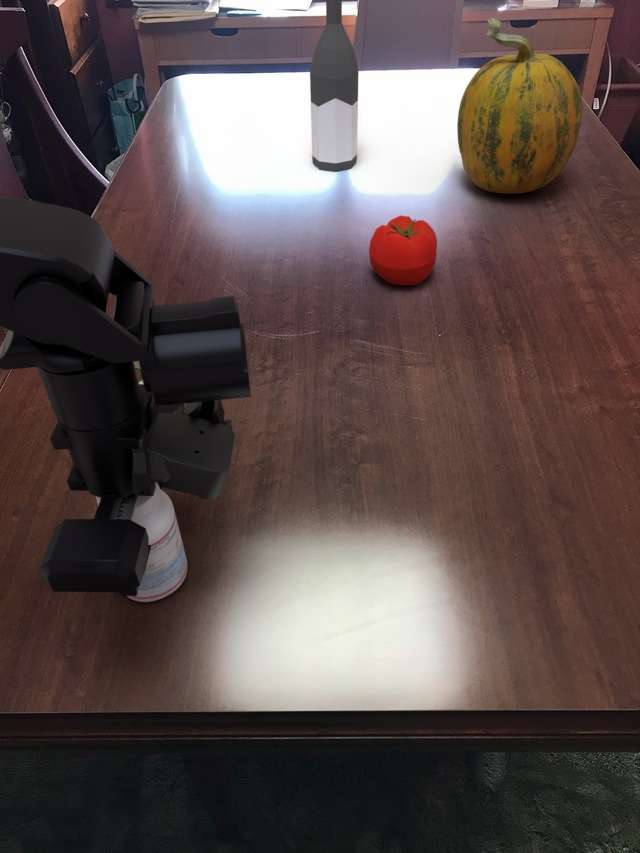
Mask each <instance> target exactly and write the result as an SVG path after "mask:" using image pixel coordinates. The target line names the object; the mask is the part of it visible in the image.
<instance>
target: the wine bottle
mask: <svg viewBox="0 0 640 853" xmlns="http://www.w3.org/2000/svg"><path fill="white" fill-rule="evenodd" d="M342 13H343V0H325V17H326V18H325V25H324V28H323V30H322V32H321V34H320V37H319V38H318V41H317V43H316V46H315V48H314V52H313V55H312V58H311V65H310V71H309V84H310V85H309V86H310V88H309V89H310V90H309V92H310V120H311V121H310V122H311V123H310V125H311V128H310V129H311V159H312V164H313V165H314V167H316V168H317V169H318V170H320V171H326V172H334V173H338V172H342V171H347V170H351V169H353V167H354V166H355V164H356V163H357V159H358V128H359V127H358V125H359V123H358V119H359V116H358V115H359V73H360V72H359V71H360V70H359V66H358V61H357V57H356V56H357V55H356V53H355V51H354V50H355V49H354V47H353V44H352V42H351V40H350V38H349V36H348V33H347V31H346V29H345V27H344V25H343V14H342Z"/></svg>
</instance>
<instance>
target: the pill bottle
mask: <svg viewBox="0 0 640 853" xmlns="http://www.w3.org/2000/svg"><path fill="white" fill-rule="evenodd" d="M155 485H156V488H155V492H154V496H139V498H138V502H137V505H136V509H135V512H134V516H133V519H132V521H133V522H135V523H137V524H139V525H141V526H143V527H145V528H146V531H147V534H148V538H149V541H148V545H151V549H150V553H149V557H148V561H147V565H146V569H145V573H144V575H143V577H142V581H141V585H140V586H139V587H138V594H137V596H126V598H128V599H130V600H133V601H135V602H140V603H149V602H155V601H159V600H162V599H164V598H166V597H168V596H169V595H171V594H173V593H174V592H175V591H176V590H178V589H179V588H180V587H181V586H182V584H183V583H184V581H185V579H186V577H187V573H188V566H189V565H188V559H187V556H186V552H185V551H186V550H185V547H184V543H183V539H182V534H181V531H180V527H179V524H178V519H177V514H176V512H175V506H174V504H173V501H172V499H171V498H170V497H169V495H168V494H167V492H165V491H164V490H163V489H162V490H161V489H160V488H159V486H158V484H157V482H155ZM95 498H96V502H97V506H98V505H99V502H100V499H101V498H100V497H97V496H95Z"/></svg>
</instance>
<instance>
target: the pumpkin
mask: <svg viewBox="0 0 640 853" xmlns="http://www.w3.org/2000/svg"><path fill="white" fill-rule="evenodd" d="M487 23H488V24H487V27H486V29H487V32H486V36H487V37H490V38H491V39H493V40H494V41H496V43H497V44H499V45H501V46H503V47H505V48H507V47H508V48H509V47H510V48H512V49H513V48H514V49H516V50H518V53H516V54H507V55H504V56H499V57H495V58H493V59H491V60H489V61H488V62H486V63H485V64H484V65H482V66H481V67H480V68H479V69H478V70H477V72H475V74H474V75H473V77H472V78H471V79H470V81H469V82H468V83H467V85H466V87H465V89H464V91H463V94H462V97H461V100H460V103H459V107H458V113H457V123H456V125H457V143H458V150H459V153H460V158H461V164H462V167H463V169H464V172H465V174H466V175H467V177H468V178H469V179H470V180H471V181H472V183H474V185H475V186H477V187H478V188H480V189H482V190H484V191H486V192H490V193H495V194H508V195H509V194H510V195H512V194H525V193H529V192H530V193H531V192H533V191H536V190H538V189H541V188H543V187H545V186H546V185H548V184H549V183H550V182H552V181H553V180H555V178H556V177H557V176H558V175H559V174H560V173H561V172H562V171H563V170H564V168H565V166H566V165H567V163H568V162H569V160H570V159H571V156H572V154H573V153H574V150H575V147H576V144H577V141H578V138H579V135H580V130H581V127H582V119H583V97H582V92H581V90H580V86H579V84H578V83H577V81H576V79H575V77H574V76H573V75H572V73H571V72H570V70H569V69H568V68H567V67H566V65H564V64H563V62H562V61H561V60H559V59H558V58H556V57H554V56H552V55H550V54H547V53H541V52H534V51H535V50H534V47H533V45H532V43H531V41H530V40H529V39H528V38H527V37H525V36H524V35H521V34H514V33H513V34H511V33H504V32H500V29H501V24H502V22H501V21H500V20H499V19H497V18H494V17H491V19H487Z"/></svg>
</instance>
